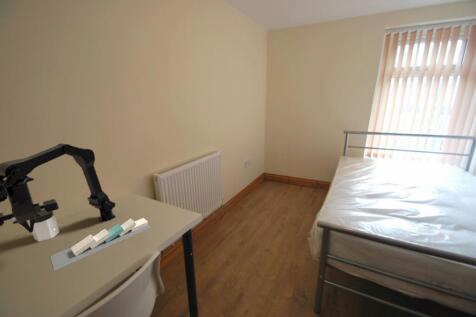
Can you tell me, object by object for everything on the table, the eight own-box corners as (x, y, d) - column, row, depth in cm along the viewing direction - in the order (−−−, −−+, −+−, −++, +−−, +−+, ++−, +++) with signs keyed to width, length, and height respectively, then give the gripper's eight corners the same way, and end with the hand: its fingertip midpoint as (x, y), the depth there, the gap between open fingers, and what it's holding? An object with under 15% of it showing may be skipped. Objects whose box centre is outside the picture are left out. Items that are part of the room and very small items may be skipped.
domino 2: (89, 246, 88) (108, 233, 92) (86, 241, 91) (105, 228, 96) (92, 249, 89) (110, 235, 93) (89, 243, 92) (107, 231, 96)
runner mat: (50, 256, 85) (50, 255, 85) (141, 219, 111) (141, 218, 111) (54, 271, 78) (54, 270, 78) (151, 227, 104) (151, 227, 104)
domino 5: (131, 228, 100) (147, 221, 105) (127, 224, 103) (143, 217, 108) (131, 231, 100) (148, 224, 106) (127, 227, 103) (143, 220, 109)
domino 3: (104, 240, 92) (122, 227, 96) (101, 235, 95) (118, 223, 99) (106, 243, 92) (124, 230, 97) (103, 238, 96) (120, 226, 100)
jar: (48, 241, 94) (41, 218, 90) (29, 242, 93) (21, 218, 90) (63, 229, 102) (57, 207, 99) (46, 229, 102) (39, 208, 98)
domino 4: (118, 234, 96) (134, 222, 100) (115, 229, 99) (130, 218, 103) (120, 236, 97) (136, 224, 101) (117, 232, 100) (132, 220, 104)
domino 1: (73, 253, 84) (94, 239, 88) (70, 247, 87) (91, 233, 92) (76, 256, 85) (96, 241, 89) (73, 250, 88) (93, 236, 93)
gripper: (-22, 213, 65) (-6, 255, 69) (56, 194, 78) (65, 230, 82) (-20, 201, 72) (-5, 240, 77) (51, 185, 85) (60, 219, 90)
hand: (31, 232), depth 81 cm, fingers closed
